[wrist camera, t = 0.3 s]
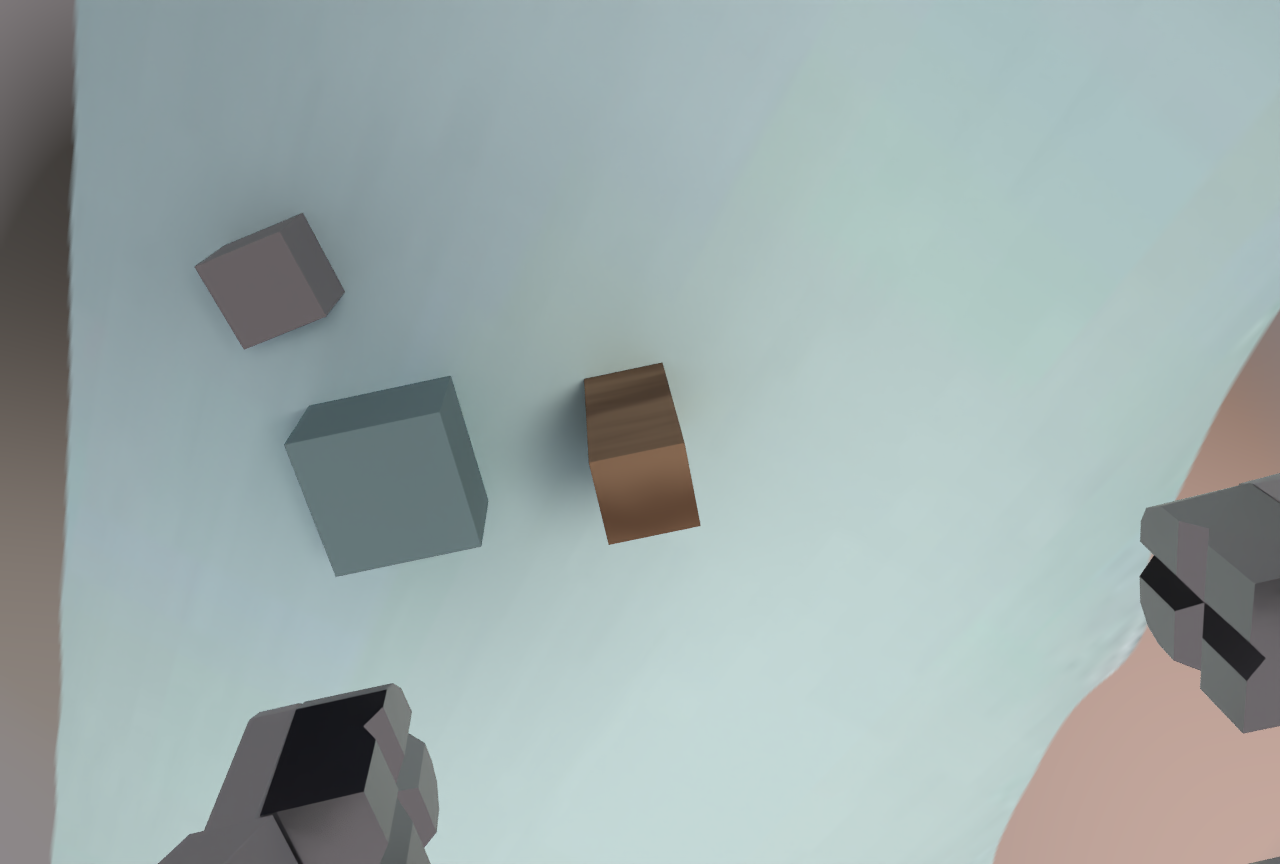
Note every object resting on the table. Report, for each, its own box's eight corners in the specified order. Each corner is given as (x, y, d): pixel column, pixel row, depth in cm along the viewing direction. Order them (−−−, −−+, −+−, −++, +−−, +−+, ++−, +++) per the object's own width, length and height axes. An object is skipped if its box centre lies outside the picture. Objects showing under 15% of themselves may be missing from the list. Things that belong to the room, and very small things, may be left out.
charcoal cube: (224, 245, 55) (194, 266, 51) (302, 212, 55) (279, 231, 50) (269, 322, 57) (244, 349, 53) (345, 291, 57) (326, 316, 52)
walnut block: (584, 378, 60) (588, 462, 49) (662, 362, 60) (684, 442, 49) (600, 449, 62) (608, 544, 51) (676, 433, 62) (700, 525, 51)
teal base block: (310, 404, 60) (284, 444, 54) (451, 374, 59) (439, 412, 54) (355, 527, 63) (335, 576, 58) (488, 499, 63) (481, 546, 58)
